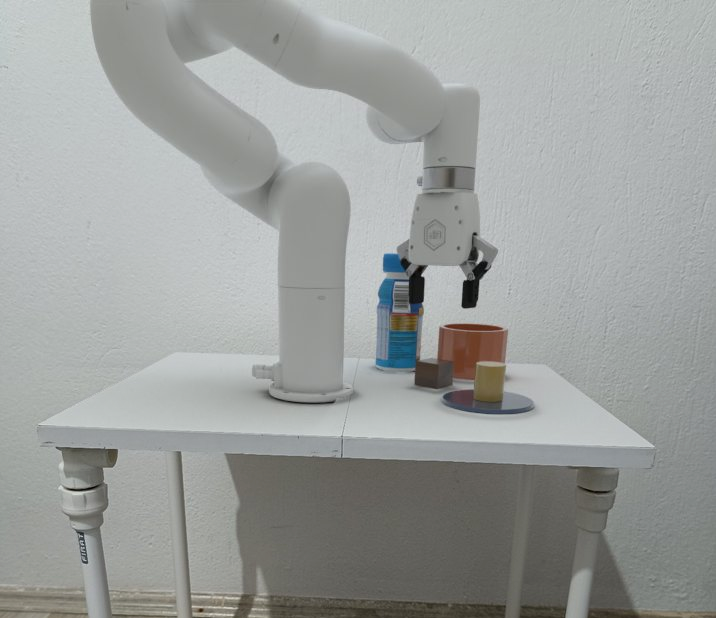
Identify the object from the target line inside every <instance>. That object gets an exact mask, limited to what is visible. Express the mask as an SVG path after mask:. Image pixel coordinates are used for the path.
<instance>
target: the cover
mask: <svg viewBox="0 0 716 618" xmlns="http://www.w3.org/2000/svg"><path fill="white" fill-rule="evenodd" d="M506 373H507V364H506V363H505V364H504V363H500V362H491V361H482V362H477V363H476V367H475V379H474V380H473V389H458V390H452V391H449V392H446V393H444V394H443V395H442V399H441V400H442V403H443V404H444V405H446V406H448V407H451V408H452V409H457V410H461V411H465V412H470V413H478V414H489V415H490V414H491V415H492V414H493V415H508V414H520V413H525V412H529V411H531V410H532V409H533V408H534V406H535V405H534V404H535V402H534V400H533V399H532V398H530V397H528V396H525V395H522V394H519V393H515V392H510V391H509V392H508V391H505V382H506Z"/></svg>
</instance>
